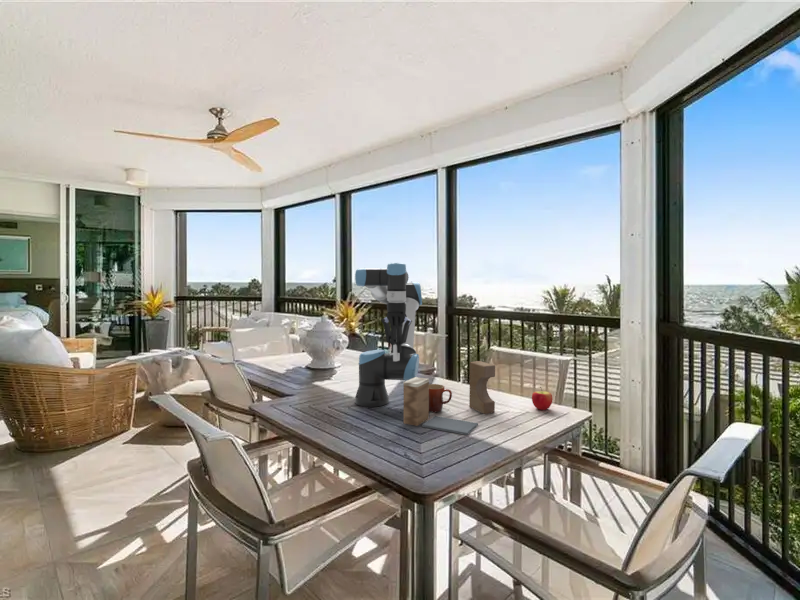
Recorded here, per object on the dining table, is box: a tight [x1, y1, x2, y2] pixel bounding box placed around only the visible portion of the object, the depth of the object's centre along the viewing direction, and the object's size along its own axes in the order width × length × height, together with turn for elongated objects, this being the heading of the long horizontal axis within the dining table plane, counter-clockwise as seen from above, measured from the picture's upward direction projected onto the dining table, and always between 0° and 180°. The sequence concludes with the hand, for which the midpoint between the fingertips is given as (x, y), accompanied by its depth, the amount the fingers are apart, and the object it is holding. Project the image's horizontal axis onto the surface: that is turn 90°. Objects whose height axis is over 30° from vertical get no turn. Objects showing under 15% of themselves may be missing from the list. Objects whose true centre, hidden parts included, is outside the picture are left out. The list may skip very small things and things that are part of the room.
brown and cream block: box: [402, 376, 430, 427], centre depth 174 cm, size 6×10×16 cm, turn 151°
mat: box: [421, 415, 479, 436], centre depth 169 cm, size 18×12×1 cm, turn 61°
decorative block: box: [468, 360, 496, 415], centre depth 188 cm, size 11×6×20 cm, turn 25°
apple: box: [531, 386, 553, 411], centre depth 190 cm, size 8×8×10 cm
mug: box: [429, 383, 453, 413], centre depth 187 cm, size 12×9×10 cm
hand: (396, 360), depth 178 cm, fingers closed
